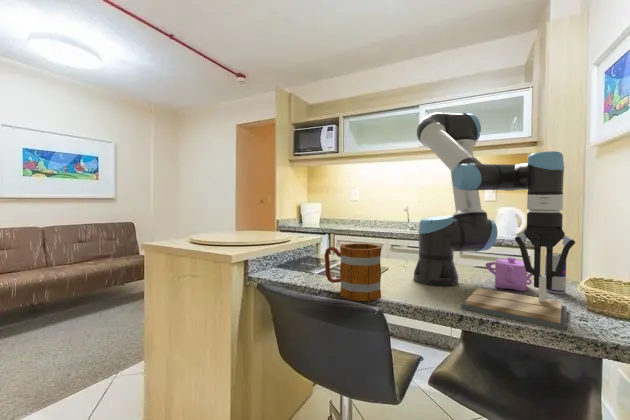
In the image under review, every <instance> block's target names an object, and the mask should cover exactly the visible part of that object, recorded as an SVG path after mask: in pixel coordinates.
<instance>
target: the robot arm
mask: <svg viewBox="0 0 630 420" xmlns="http://www.w3.org/2000/svg"><path fill="white" fill-rule="evenodd" d="M481 132H482V126H481V122H480V119H479V118H478V117H477V116H476V115H474V114H473V113H466V112H459V113H457V112H456V113H455V112H452V113H451V112H433V113H429V114H428V115H426V116H424V117H423V118H422V119H421V120H420V121H419V123H418V125H417V128H416V137H417V140H418V141H419V142H420V143H421V145H422V146H423V147H425V148H428V149H430V150H431V151H432V152H433V153H434V155H436V157H437V158H439V160H440V161H441V162H442V163H443V164H444V165H445V166H446V167H447V168H448V170H449V171H450V177H451V185H452V192H453V198H454V199H453V200H454V206H455V207H454V209H455V212H454V214H452V215H436V216H429V217H428V216H427V217H424V218H422V219H421V220H420V221H419V224H418V260H417V262H416V266H415V269H414V271H413V280H414V281H415V282H417V283H420V284H424V285H429V286H436V287H438V286H439V287H448V286H449V287H451V286H455V285H458V284H459V274H458V271H457V269H456V268H457V267H456V265H455V262H454V253H455V252H483V251H489V250H490V249H491V248H492V247H493V246H494V245H495V243H497V239H498V226H497V224H496V222H494V220H492V219H490V218H488V213H487V211H485V210H484V209H482V204H481V197H480V191H506V192H507V191H508V192H509V191H510V192H514V191H523V190H527V192H526V193H527V196H526V200H527V202H526V204H527V205H526V209H527V210H528V212H527V213H526V228H525V230H524V233H522V234H520V235H517V236H515V238H514V241H516V243H517V245H518V247H519V250H520V253H521V257H522V261H523V262H524V266H525V269H526V272H527V274H528V273H529V274H530V273H531V274H533V275H532V276H533V287H534V288H537V289H538V298H539V301H540V302H546V299H547V291H546V290H547V289H549V290H551V288H552V278H553V277H554V276H560V275H561V273H562V270H563V267H564V264H565V261H566V262H567V258H568V255H569V252H570V250H571V249H572V247H573V246H574V245H576V241H575V239H573V238H570V237H568V236H567V235H565V232H564V230H563V216H564V215H563V213H562V212H560V211H562V210H563V208H564V174H565V173H564V172H565V164H564V163H565V162H564V155H563V153H562V152H560V151H555V150H554V151H552V150H551V151H549V150H548V151H538V152H533V153H530V154H529V155H528V157H527V160H526V161H527V162H525V163H516V164H514V163H513V164H510V163H509V164H506V163H505V164H504V163H502V164H501V163H500V164H499V163H482V162H481V161H480V160H478V159H477V158H476V157H475V156H474V151H473V148H474V147H475V146H476V144H477V142H478V140H479V139H480V136H481V134H480V133H481ZM527 240H528V242H530V243H531V245H532V246H533V247H534V249H533V250H534V251H533V253H534V256H533V257H534V258H533V259H534V260H533V266H532V264H531V260H530V257H529V256H530V255H529V253H528V248H527V245H526V241H527ZM561 241H562V245H563V248H562V251H561V253H560V254H561V256H560V259H559V262H558V265H557V268H556V270H555V271H552V264H553V253H554V247H555V246H557V245H558V244H559V243H560V242H561ZM542 247H544V248H546V249H545V250H546V253H545V255H546V276H545V274H541V250H542ZM531 266H532V267H533V268H534V269H533V268H532V267H531Z"/></svg>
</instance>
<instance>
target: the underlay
mask: <svg viewBox="0 0 630 420" xmlns="http://www.w3.org/2000/svg"><path fill="white" fill-rule="evenodd" d="M472 294H473V292H472V293H471V294H470V295H469V296H468V297H467V298H466V299H465V300H464V301H463V302H462V303H461V304H460V308H461V310H465V311H470V312H476V313H480V314H484V315H489V316H495V317H500V318H503V319H509V320H514V321H519V322H524V323H529V324H533V325H538V326H542V327H547V328H553V329H557V330H563V331H567V307H568V306H567V305H562V309H561V322H560V323H556V322H551V321H546V320H541V319H536V318H531V317H526V316H521V315H516V314H511V313H506V312H500V311H495V310H490V309H485V308H480V307H475V306H470V305H466V300H467V299H468V298H469V297H470V296H471V295H472Z"/></svg>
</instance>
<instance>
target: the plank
mask: <svg viewBox="0 0 630 420" xmlns="http://www.w3.org/2000/svg"><path fill="white" fill-rule="evenodd" d="M472 293H473V294H475V295H480V296H486V297H492V298H498V299H503V300H509V301H515V302H520V303H526V304H532V305H537V306H543V307H549V308H555V309H560V310H561V309H562V304H563V301H562V300H555V299H549V298H546V302H540V301H539V296H538V297H536V296H529V295H524V294H520V293H511V292H506V291H501V290H500V291H499V290H494V289H488V288H481V287H478V288H476V289H475V290H474V291H473V292H472Z"/></svg>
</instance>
